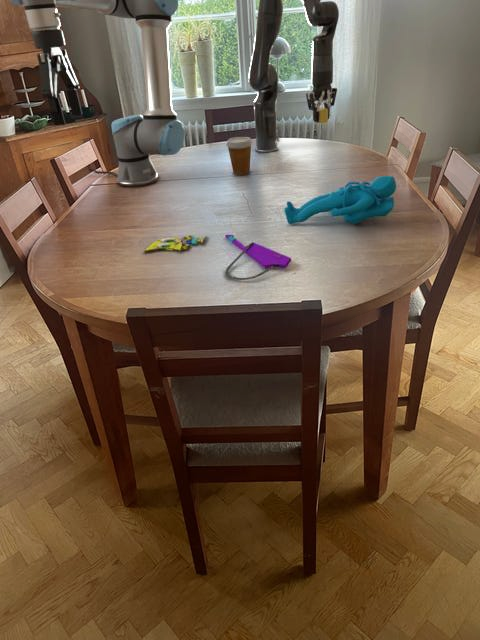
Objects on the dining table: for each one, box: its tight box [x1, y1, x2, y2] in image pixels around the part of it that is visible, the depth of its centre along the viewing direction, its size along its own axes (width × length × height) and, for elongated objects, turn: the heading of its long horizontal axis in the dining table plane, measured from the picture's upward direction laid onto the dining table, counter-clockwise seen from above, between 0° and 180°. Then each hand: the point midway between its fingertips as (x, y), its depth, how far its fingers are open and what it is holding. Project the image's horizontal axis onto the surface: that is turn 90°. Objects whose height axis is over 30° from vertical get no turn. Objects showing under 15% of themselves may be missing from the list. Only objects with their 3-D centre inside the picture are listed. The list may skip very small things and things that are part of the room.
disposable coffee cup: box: [226, 136, 253, 176], centre depth 180 cm, size 10×10×12 cm
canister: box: [315, 107, 329, 124], centre depth 177 cm, size 5×5×4 cm
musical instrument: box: [224, 234, 292, 281], centre depth 118 cm, size 24×2×20 cm
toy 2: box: [283, 175, 397, 225], centre depth 132 cm, size 17×11×30 cm
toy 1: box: [144, 234, 207, 254], centre depth 130 cm, size 10×1×15 cm
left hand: (69, 119), depth 132 cm, fingers open, 13 cm apart
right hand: (321, 120), depth 178 cm, fingers closed on canister, 4 cm apart
